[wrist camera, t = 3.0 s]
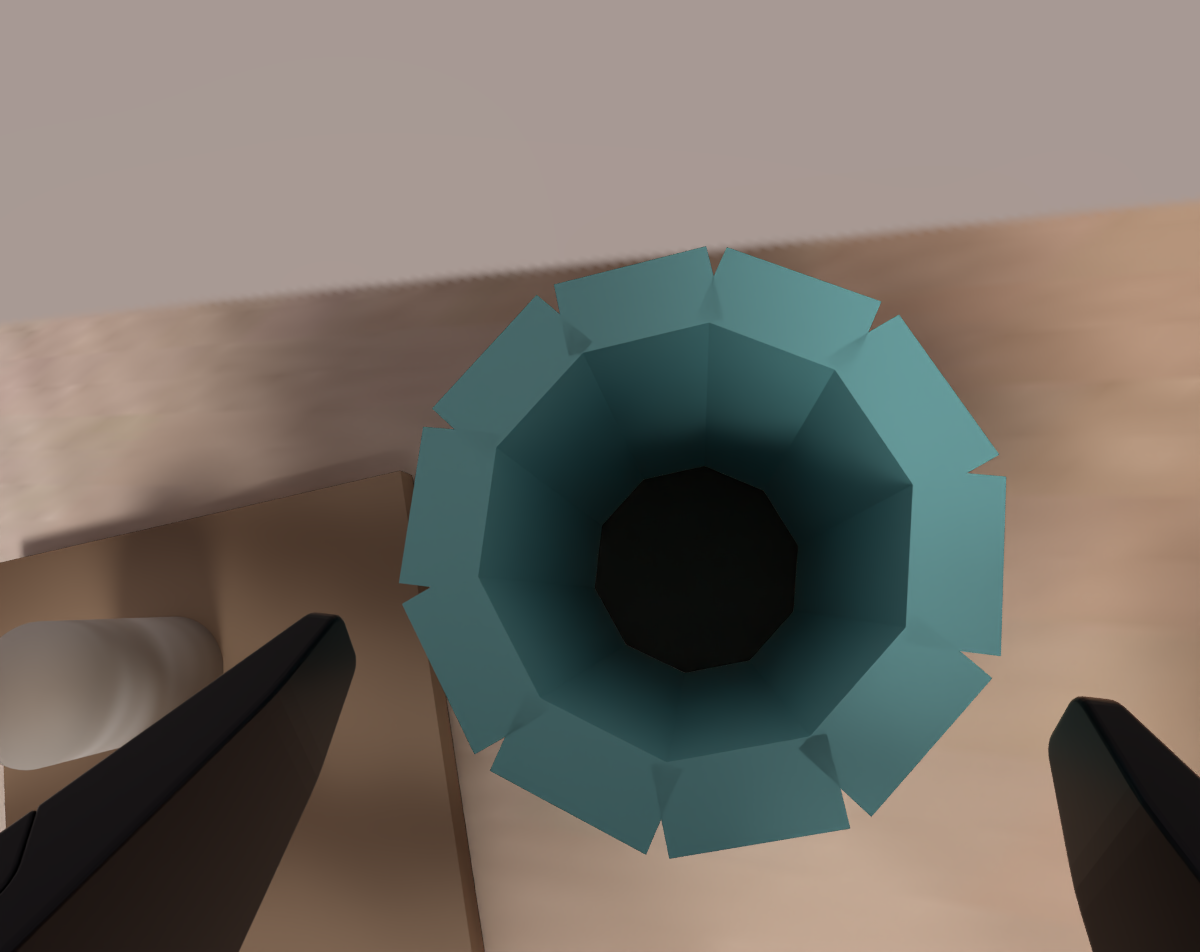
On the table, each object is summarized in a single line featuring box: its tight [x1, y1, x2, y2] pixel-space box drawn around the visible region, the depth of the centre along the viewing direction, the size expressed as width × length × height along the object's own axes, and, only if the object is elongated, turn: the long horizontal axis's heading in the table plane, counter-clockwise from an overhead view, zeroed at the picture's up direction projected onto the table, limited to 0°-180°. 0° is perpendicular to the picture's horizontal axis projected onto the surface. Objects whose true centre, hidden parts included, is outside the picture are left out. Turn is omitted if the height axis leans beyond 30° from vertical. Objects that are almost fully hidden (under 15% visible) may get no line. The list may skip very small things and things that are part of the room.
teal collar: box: [399, 246, 1006, 859], centre depth 13 cm, size 7×7×10 cm
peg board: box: [0, 471, 484, 952], centre depth 17 cm, size 16×12×5 cm
